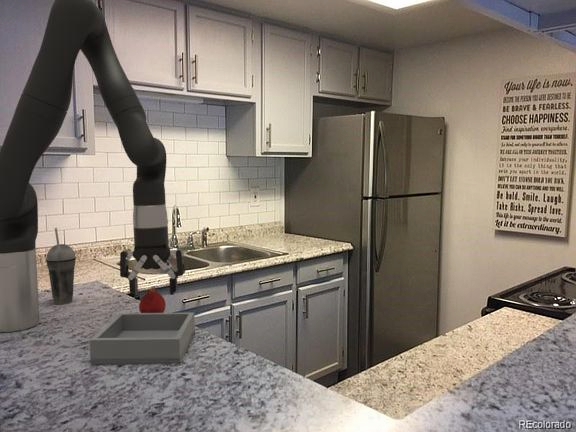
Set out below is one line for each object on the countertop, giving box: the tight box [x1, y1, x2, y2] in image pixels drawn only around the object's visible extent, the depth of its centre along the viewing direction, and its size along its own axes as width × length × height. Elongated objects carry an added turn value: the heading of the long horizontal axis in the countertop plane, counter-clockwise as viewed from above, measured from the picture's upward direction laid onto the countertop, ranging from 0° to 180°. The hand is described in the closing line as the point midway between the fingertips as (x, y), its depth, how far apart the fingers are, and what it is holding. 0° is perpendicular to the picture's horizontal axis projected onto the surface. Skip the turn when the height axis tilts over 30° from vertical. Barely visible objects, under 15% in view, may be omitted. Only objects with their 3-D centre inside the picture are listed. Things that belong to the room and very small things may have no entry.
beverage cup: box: [45, 227, 77, 306], centre depth 124 cm, size 7×7×20 cm
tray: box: [89, 312, 196, 365], centre depth 92 cm, size 16×16×4 cm
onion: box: [138, 286, 166, 313], centre depth 108 cm, size 6×6×8 cm
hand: (154, 294), depth 108 cm, fingers open, 8 cm apart
